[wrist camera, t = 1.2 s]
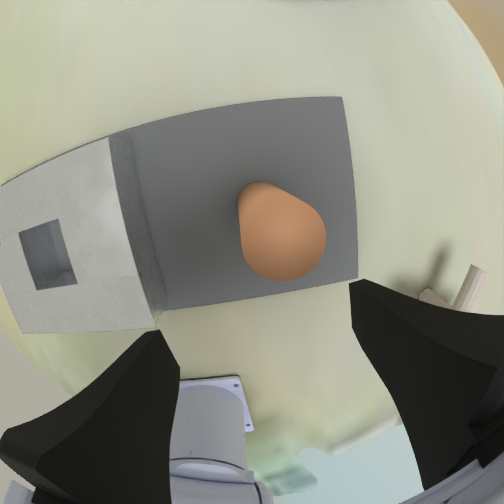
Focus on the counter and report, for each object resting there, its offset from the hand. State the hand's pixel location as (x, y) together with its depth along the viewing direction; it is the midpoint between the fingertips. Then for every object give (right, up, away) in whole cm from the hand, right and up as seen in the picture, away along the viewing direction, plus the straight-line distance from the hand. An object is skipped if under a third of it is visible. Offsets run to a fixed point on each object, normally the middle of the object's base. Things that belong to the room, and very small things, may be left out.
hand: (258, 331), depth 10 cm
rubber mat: (-8, +5, +9) cm, 13 cm away
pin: (0, +6, +9) cm, 11 cm away
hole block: (-15, +4, +9) cm, 17 cm away
